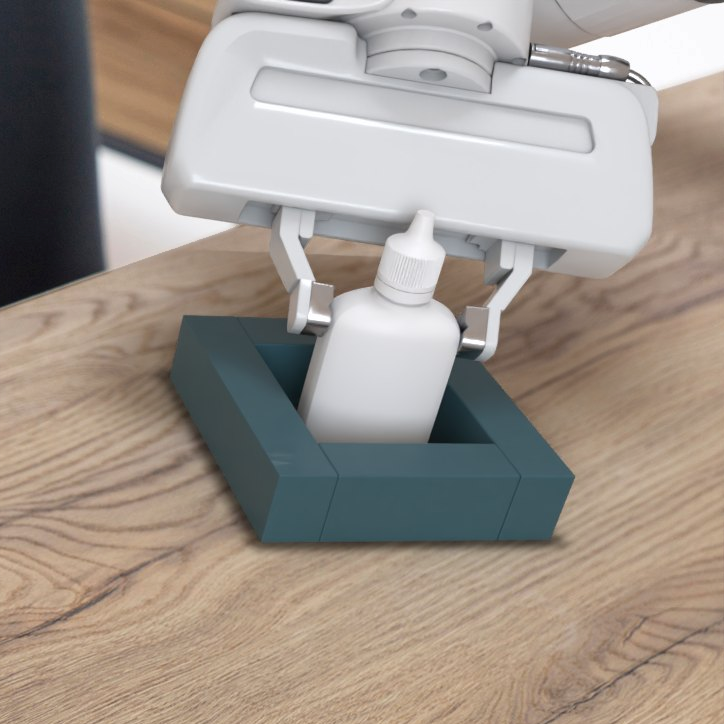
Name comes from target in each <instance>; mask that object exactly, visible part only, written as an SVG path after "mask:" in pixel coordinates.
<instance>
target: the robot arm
mask: <svg viewBox="0 0 724 724" xmlns="http://www.w3.org/2000/svg"><path fill="white" fill-rule="evenodd" d="M715 4H717V5H718V4H724V0H216V2H215V5H214V9H213V13H212V17H211V21H210V27H209V32H208V33H207V35H206V37H205V38H204V40H203V41H202V43H201V45H200V47H199V50H198V52H197V55H196V57H195V59H194V61H193V65H192V67H191V69H190V72H189V75H188V77H187V80H186V83H185V86H184V88H183V92H182V95H181V98H180V101H179V104H178V107H177V110H176V114H175V117H174V119H173V124H172V127H171V132H170V134H169V138H168V143H167V147H166V152H165V157H164V161H163V167H162V172H161V180H160V192H161V193H162V195H163V197H164V198H165V200H166V202H167V203H168V205H169V206H170V208H171V210H172V211H173V212H174V213H176V214H177V215H179V216H183V217H191V218H196V219H203V220H210V221H217V222H222V223H223V222H224V223H230V224H236V225H243V226H249V227H254V228H260V229H261V228H262V229H268V230H270V236H269V237H270V238H269V247H268V254H269V256H270V258H271V261H272V263H273V265H274V267H275V269H276V271H277V273H278V276H279V278H280V280H281V282H282V284H283V286H284V289H285V291H286V293H287V294H289V305H288V312H287V318H288V321H287V331H288V333H295V334H301V335H308V336H315V337H322V336H323V335H324V332H327V330H328V329H329V326H330V322H331V316H332V311H331V309H330V307H329V306H330V305H331V303H332V302H333V299H334V298H335V297H334V296H335V288H336V286H335V285H333V284H328V283H323V282H317V281H316V278H315V275H314V273H313V270H312V268H311V265H310V263H309V260H308V258H307V256H306V254H305V253H306V252H305V249H306V247H307V246H308V244H309V243H310V242H311V240H312V238H313V237H320V238H327V239H333V240H339V241H340V240H341V241H346V242H353V243H359V244H366V245H372V246H379V247H384V246H385V243H386V240H387V238H388V237H390V236H392V235H394V234H397V233H405V232H406V231H407V230H408V229H409V227H410V225H411V223H412V221H413V219H414V217H415V215H416V213H417V212H418V210H427V211H430V212H432V213H434V214H435V219H434V228H433V239H434V241H436V242H437V243H439V244H440V245H441V246H442V247H443V249H444V250H445V253H446V254H445V255H446V256H445V257H450V258H456V259H463V260H469V261H476V262H482V263H484V267H483V280H482V282H483V284H484V285H485V286H490V287H494V286H495V288H494V290H493V291H492V293H490V295H489V296H488V298H487V299H486V300H485V302H484V303H483V305H481V307H480V306H472V305H465V306H464V308H463V309H461V310H460V311H461V312H460V313H458V314H456V316H455V318H456V320H457V323H458V325H459V329H460V341H459V346H458V350H457V353H456V356H455V357H458V358H464V359H470V360H474V361H480V362H481V363H482V362H484V363H486V362H487V361H488V360H490V359H491V358H492V357H493V356H494V355H495V353H496V350H497V347H498V342H499V335H500V324H501V323H500V322H501V314H502V313H503V312H505V310H506V309H507V307H508V306H509V305H510V303H511V302H512V301H513V300H514V298H515V297H516V296H517V294H518V293H519V291H520V290H521V288H523V286H524V285H525V283H526V282H527V281H528V279H529V278H530V277H531V275H532V274H533V271H540V272H548V273H553V274H561V275H566V276H574V277H578V278H585V279H592V280H604V279H607V278H609V277H611V276H612V275H614V274H615V273H616V272H618V271H620V269H622V268H624V267H625V266H627V264H629V263H631V261H632V260H633V259H635V257H637V256H638V255H639V254H640V253H641V251H642V250H643V249H644V248H645V247H646V246H647V245H648V243H649V241H650V239H651V236H652V234H653V233H652V232H653V223H654V172H653V171H654V169H653V156H652V149H653V147H654V144H655V142H656V138H657V133H658V132H657V131H658V122H659V121H658V119H659V110H660V109H659V108H660V98H659V94H658V92H657V89H656V88H655V87H653V85H652V84H651V82H649V80H648V79H647V78H646V77H644V76H643V75H642V74H640V72H637V71H635V70H633V69H631V63H630V61H628V60H627V59H624V58H622V57H619V56H615V55H609V54H598V55H592V54H587V53H582V52H579V51H575V50H572V48H576V47H579V46H582V45H585V44H588V43H590V42H594V41H596V40H600V39H603V38H610V37H615V36H617V35H620V34H624V33H627V32H629V31H632V30H635V29H639V28H642V27H644V26H647V25H650V24H651V25H652V24H654V23H657V22H660V21H663V20H666V19H669V18H672V17H675V16H678V15H681V14H684V13H687V12H690V11H694V10H696V9H699V8H702V7H706V6H708V5H715ZM629 81H631V82H629Z"/></svg>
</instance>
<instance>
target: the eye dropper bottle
mask: <svg viewBox="0 0 724 724" xmlns="http://www.w3.org/2000/svg"><path fill="white" fill-rule="evenodd" d="M434 219H435V214H434V213H432V212H430V211H427V210H418V212H417V213H416V215H415V217H414V219H413V221H412V223H411V225H410V227H409V229H408V230H407V231H406V232H405V233H397V234H394V235H392V236H390V237H388V238H387V240H386V243H385V246H383V250H382V254H381V258H380V260H379V264H378V267H377V271H376V274H375V278H374V281H373V285H371V286H364V287H361V288H356V289H352V290H349V291H345V292H343V293H341V294H339V295H336V296H335V297H334V298H333V302H332V303H331V305H330V306H329V307H330V309H331V311H332V316H331V322H330V326H329V329H328V330H327V332H324V335H323V336H322V337H317V340H316V343H315V347H314V350H313V354H312V358H311V361H310V365H309V368H308V372H307V376H306V379H305V383H304V387H303V390H302V394H301V398H300V401H299V405H298V407H296V408H297V409H296V411H297V413H298V414H299V416H300V417H301V419H302V420H303V422H304V424H305V425H306V427H307V428H308V430H309V431H310V433H311V434H312V436H313V437H314V439H315V441H316V442H317V444H318V443H428V440H429V437H430V434H431V431H432V428H433V425H434V422H435V419H436V416H437V413H438V409H439V406H440V403H441V400H442V397H443V394H444V391H445V388H446V385H447V382H448V379H449V376H450V373H451V369H452V366H453V363H454V360H455V356H456V353H457V350H458V346H459V341H460V329H459V325H458V323H457V320H456V318H455V317H456V316H455V314H454V313H453V312H452V310H451V309H449V308H448V307H447V306H446V305H445V304H443V303H441V302H440V301H438V300H436V298H435V299H434V294H435V290H436V287H437V285H438V280H439V277H440V275H441V271H442V268H443V265H444V262H445V258H446V257H447V256H446V255H445V254H446V253H445V250H444V249H443V247H442V246H441V245H440V244H439V243H437V242H436V241H434V239H433V228H434Z"/></svg>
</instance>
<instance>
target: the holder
mask: <svg viewBox="0 0 724 724" xmlns="http://www.w3.org/2000/svg"><path fill="white" fill-rule="evenodd" d="M287 321H288V317H265V316H261V317H259V316H257V317H256V316H234V315H232V316H231V315H200V314H197V315H196V314H183V315H182V317H181V323H180V328H179V332H178V335H177V336H178V337H177V341H176V344H175V350H174V355H173V359H172V363H171V369H170V373H169V380H170V382H171V383H172V385H173V387H174V389H175V391H176V392H177V394H178V396H179V397H180V399H181V401H182V403H183V405H184V407H185V408H186V411H187V412H188V414H189V415H190V417H191V420H192V421H193V423H194V425H195V426H196V428H197V430H198V432H199V434H200V435H201V437H202V439H203V441H204V442H205V445H206V446H207V449H208V450H209V452H210V454H211V455H212V457H213V459H214V460H215V462H216V464H217V466H218V468H219V469H220V471H221V473H222V475H223V477H224V478H225V480H226V482H227V484H228V486H229V488H230V489H231V491H232V493H233V495H234V497H235V498H236V501H237V502H238V503H239V506H240V507H241V509H242V511H243V513H244V515H245V516H246V519H247V520H248V522H249V524H250V525H251V527H252V529H253V531H254V532H255V534H256V537H257V538H258V540H259V542H260V543H319V542H321V543H349V542H351V543H352V542H353V543H355V542H359V543H360V542H361V543H363V542H451V541H452V542H453V541H454V542H456V541H457V542H459V541H462V542H463V541H467V542H468V541H551V539H552V537H553V534H554V531H555V529H556V527H557V524H558V522H559V519H560V517H561V514H562V512H563V509H564V506H565V503H566V502H567V499H568V497H569V494H570V491H571V489H572V486H573V484H574V482H575V478H576V475H575V473H574V472H573V471H572V470H571V469H570V468H569V467H568V466H567V464H566V463H565V462H564V460H563V459H562V458H561V457H560V456H559V455H558V453H557V452H556V451H555V450H554V449H553V448H552V446H551V445H550V444H549V442H548V441H547V440H546V439H545V438H544V436H543V435H542V434H541V433H540V432H539V431H538V429H537V428H536V426H534V424H533V423H532V422H531V421H530V420H529V418H528V417H527V416H526V415H525V413H524V412H523V411H522V410H521V409H520V408H519V406H518V405H517V404H516V402H514V400H513V399H512V398H511V397H510V396H509V394H508V393H507V391H505V389H504V388H503V387H502V385H500V383H499V382H498V381H497V380H496V379H495V378H494V376H493V375H492V374H491V373H490V371H489V370H488V369H487V368H486V367H485V366H484V364H483V363H482V361H474V360H470V359H464V358H458V357H455V360H454V363H453V366H452V369H451V373H450V376H449V379H448V382H447V385H446V388H445V391H444V394H443V397H442V400H441V403H440V406H439V409H438V413H437V416H436V419H435V422H434V425H433V428H432V431H431V434H430V437H429V440H428V443H318V444H317V442H316V441H315V439H314V437H313V436H312V434H311V433H310V431H309V430H308V428H307V427H306V425H305V424H304V422H303V420H302V419H301V417H300V416H299V414H298V413H297V409H296V408H298V405H299V401H300V398H301V394H302V390H303V387H304V383H305V379H306V376H307V372H308V368H309V365H310V361H311V358H312V354H313V350H314V347H315V343H316V340H317V337H315V336H308V335H301V334H295V333H288V331H287Z"/></svg>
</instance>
